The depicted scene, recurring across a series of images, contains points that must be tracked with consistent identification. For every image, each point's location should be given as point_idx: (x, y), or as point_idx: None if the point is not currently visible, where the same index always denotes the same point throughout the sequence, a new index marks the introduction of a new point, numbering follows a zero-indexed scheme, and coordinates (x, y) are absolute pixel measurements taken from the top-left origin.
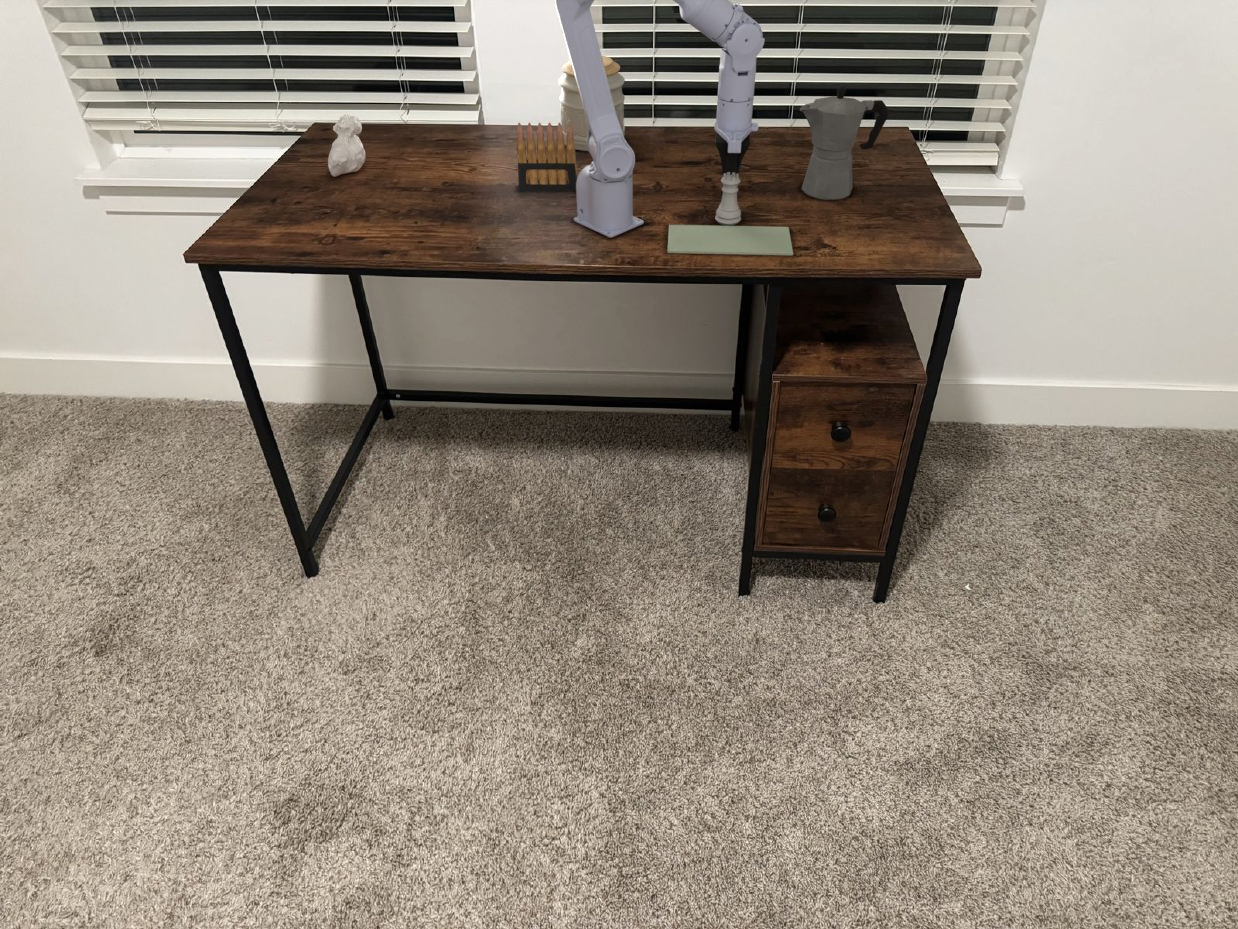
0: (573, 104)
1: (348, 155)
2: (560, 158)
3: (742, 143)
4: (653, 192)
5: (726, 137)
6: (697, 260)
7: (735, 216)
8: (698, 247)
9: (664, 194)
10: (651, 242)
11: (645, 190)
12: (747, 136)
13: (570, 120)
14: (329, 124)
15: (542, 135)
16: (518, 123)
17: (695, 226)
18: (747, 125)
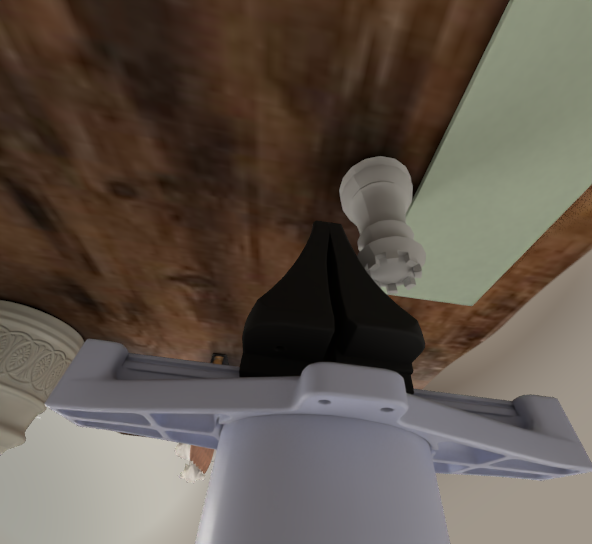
0: (39, 412)
1: (215, 452)
2: None
3: (394, 353)
4: (218, 288)
5: (478, 469)
6: (532, 270)
7: (412, 187)
8: (491, 266)
9: (224, 276)
10: (418, 313)
11: (211, 297)
12: (318, 334)
13: None
14: (121, 433)
15: (207, 448)
16: (205, 472)
17: None
18: (426, 465)
